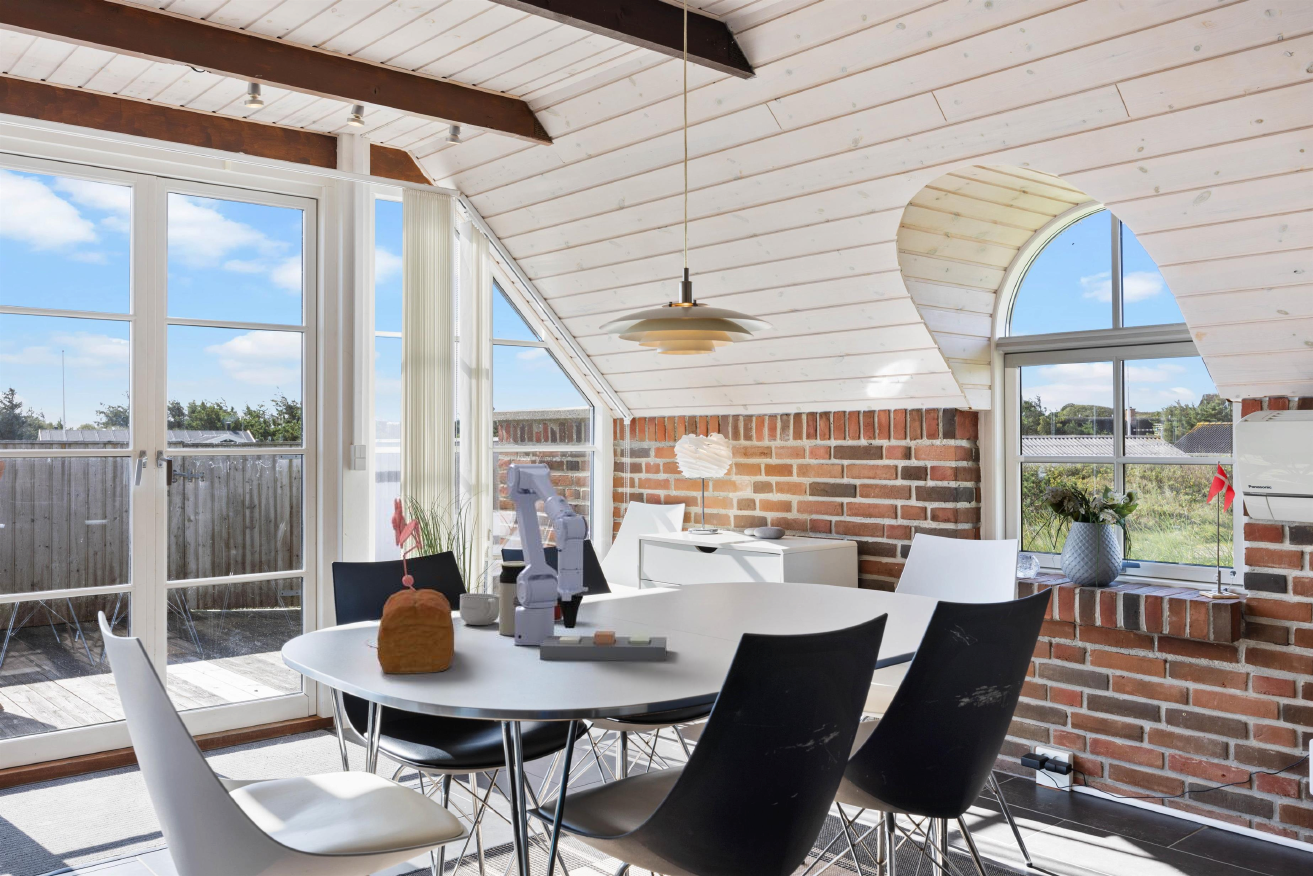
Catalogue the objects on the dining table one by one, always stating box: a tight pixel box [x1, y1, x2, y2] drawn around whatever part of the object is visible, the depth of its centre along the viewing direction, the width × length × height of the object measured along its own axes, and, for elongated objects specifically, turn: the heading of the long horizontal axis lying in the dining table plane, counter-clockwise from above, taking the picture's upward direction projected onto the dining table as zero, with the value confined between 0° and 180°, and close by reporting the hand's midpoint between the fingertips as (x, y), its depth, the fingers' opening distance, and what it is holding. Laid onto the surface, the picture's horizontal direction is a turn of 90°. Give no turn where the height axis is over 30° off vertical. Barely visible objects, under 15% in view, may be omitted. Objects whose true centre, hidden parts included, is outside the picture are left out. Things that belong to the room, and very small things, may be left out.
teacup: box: [459, 592, 499, 626], centre depth 268 cm, size 14×11×8 cm
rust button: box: [593, 630, 616, 644], centre depth 230 cm, size 4×4×3 cm
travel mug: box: [498, 560, 526, 637], centre depth 256 cm, size 8×8×18 cm
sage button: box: [629, 636, 651, 644], centre depth 230 cm, size 4×4×3 cm
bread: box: [376, 588, 455, 675], centre depth 223 cm, size 16×27×16 cm, turn 13°
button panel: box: [539, 635, 667, 662], centre depth 230 cm, size 28×12×3 cm, turn 88°
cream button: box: [559, 635, 582, 643], centre depth 230 cm, size 4×4×3 cm
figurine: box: [363, 497, 423, 649], centre depth 245 cm, size 15×26×35 cm, turn 19°
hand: (569, 627), depth 231 cm, fingers closed
